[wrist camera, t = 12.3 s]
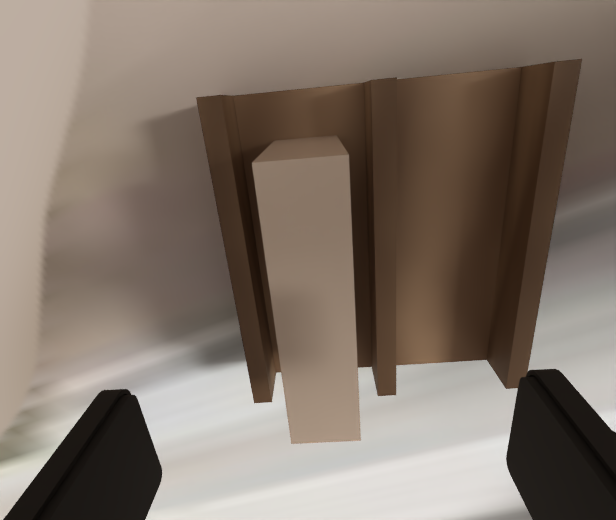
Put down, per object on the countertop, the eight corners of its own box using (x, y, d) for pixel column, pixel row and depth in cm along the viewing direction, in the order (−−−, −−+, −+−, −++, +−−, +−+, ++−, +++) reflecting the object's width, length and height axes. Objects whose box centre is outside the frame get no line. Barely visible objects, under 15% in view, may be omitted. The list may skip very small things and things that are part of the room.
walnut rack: (527, 67, 18) (582, 59, 14) (492, 343, 24) (524, 387, 20) (219, 98, 19) (196, 97, 15) (263, 358, 25) (254, 402, 21)
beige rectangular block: (336, 135, 18) (348, 154, 11) (347, 343, 23) (360, 440, 16) (274, 140, 18) (251, 162, 12) (298, 346, 23) (291, 443, 16)
